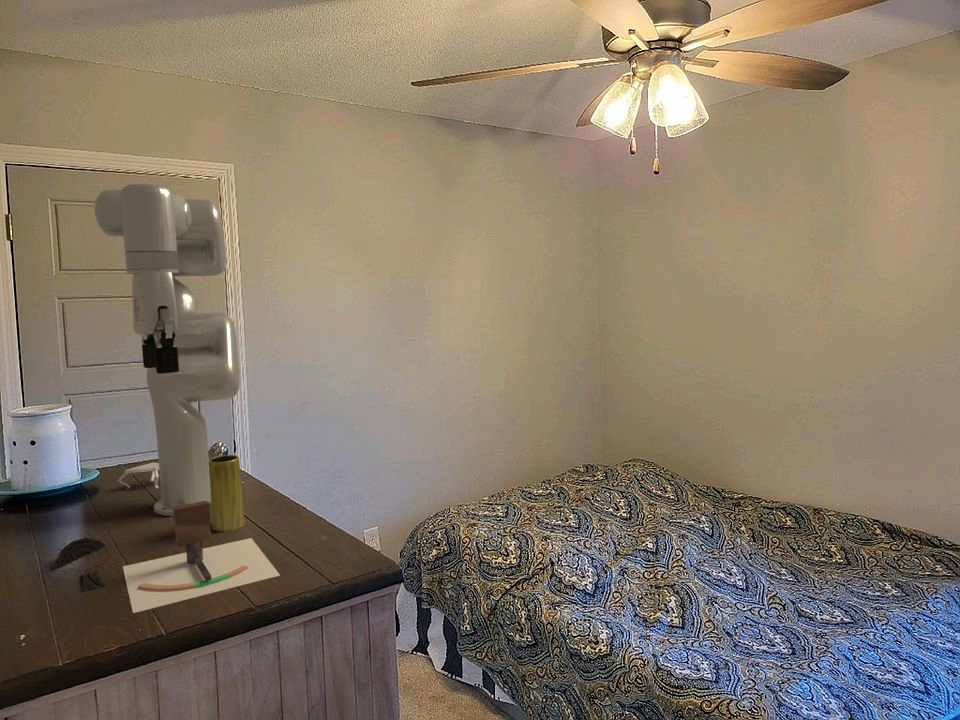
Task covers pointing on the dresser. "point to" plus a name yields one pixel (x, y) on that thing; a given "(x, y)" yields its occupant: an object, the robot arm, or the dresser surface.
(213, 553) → the board
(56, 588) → the dresser surface
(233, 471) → the vase
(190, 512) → the tuner needle gauge
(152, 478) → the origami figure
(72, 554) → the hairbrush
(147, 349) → the robot arm
